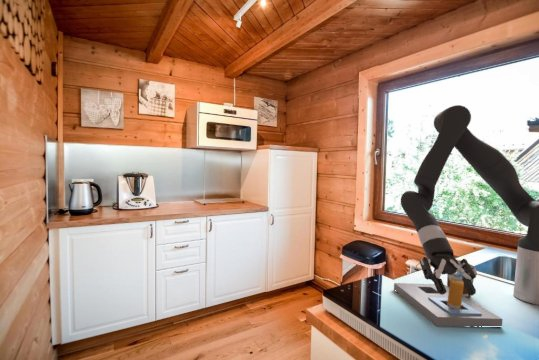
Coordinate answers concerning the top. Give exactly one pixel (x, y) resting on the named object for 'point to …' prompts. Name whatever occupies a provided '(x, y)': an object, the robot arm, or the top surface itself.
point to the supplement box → (455, 294)
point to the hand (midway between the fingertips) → (458, 294)
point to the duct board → (445, 307)
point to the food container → (463, 282)
